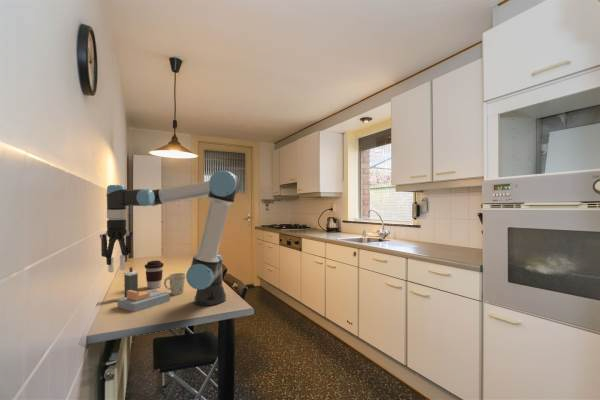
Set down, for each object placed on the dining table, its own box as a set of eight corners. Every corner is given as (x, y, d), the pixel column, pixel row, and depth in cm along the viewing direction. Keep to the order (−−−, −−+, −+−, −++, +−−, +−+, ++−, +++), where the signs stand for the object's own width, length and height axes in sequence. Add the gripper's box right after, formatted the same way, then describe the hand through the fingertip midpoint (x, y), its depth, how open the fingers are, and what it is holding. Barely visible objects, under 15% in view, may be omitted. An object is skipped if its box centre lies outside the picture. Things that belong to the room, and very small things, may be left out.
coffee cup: (166, 284, 185) (166, 259, 185) (159, 289, 175) (159, 263, 175) (149, 285, 185) (149, 260, 185) (141, 289, 175) (141, 263, 175)
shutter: (149, 296, 149) (149, 288, 149) (135, 300, 143) (135, 292, 143) (140, 294, 153) (140, 287, 153) (126, 298, 147) (126, 290, 147)
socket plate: (169, 300, 155) (169, 292, 155) (134, 312, 139) (134, 302, 139) (152, 296, 162) (152, 288, 162) (117, 307, 146) (117, 297, 146)
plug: (138, 296, 162) (137, 267, 162) (129, 299, 158) (129, 268, 158) (132, 295, 164) (132, 266, 164) (124, 297, 160) (124, 267, 160)
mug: (179, 295, 163) (179, 276, 163) (158, 294, 165) (158, 276, 166) (188, 291, 171) (188, 273, 171) (168, 290, 174) (168, 272, 174)
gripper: (130, 218, 149) (131, 266, 149) (91, 220, 134) (91, 273, 134) (140, 218, 145) (140, 268, 145) (100, 220, 130) (100, 275, 130)
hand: (116, 270), depth 139 cm, fingers open, 4 cm apart
